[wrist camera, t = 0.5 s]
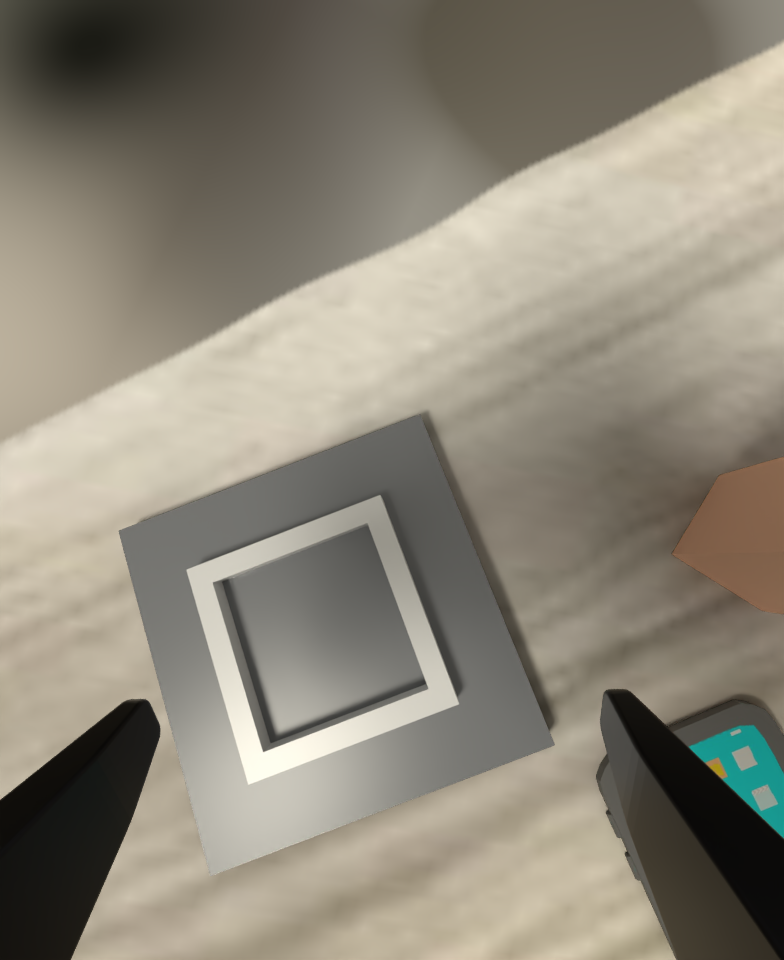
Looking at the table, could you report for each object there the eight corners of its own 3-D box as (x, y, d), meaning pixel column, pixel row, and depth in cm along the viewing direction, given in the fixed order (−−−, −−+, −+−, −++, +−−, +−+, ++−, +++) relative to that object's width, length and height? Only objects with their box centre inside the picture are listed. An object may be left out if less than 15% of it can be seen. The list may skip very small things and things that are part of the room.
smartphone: (768, 1169, 18) (588, 769, 21) (750, 1137, 19) (581, 760, 22) (975, 1081, 18) (768, 693, 21) (947, 1054, 19) (753, 687, 22)
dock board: (547, 734, 22) (561, 754, 19) (222, 858, 22) (199, 892, 19) (420, 421, 24) (419, 407, 22) (133, 532, 24) (104, 529, 22)
